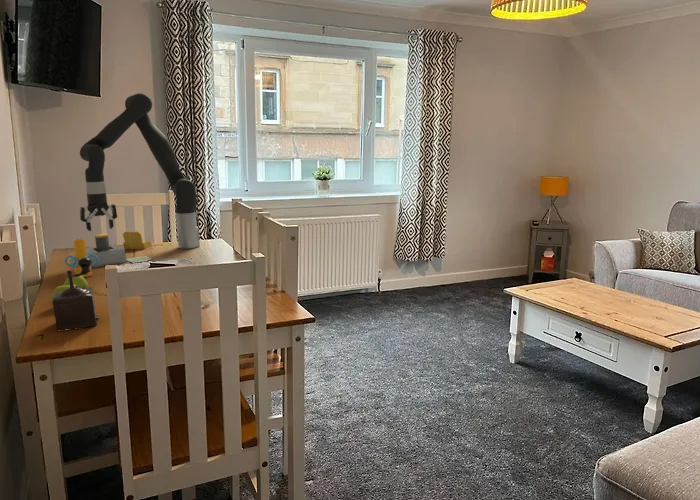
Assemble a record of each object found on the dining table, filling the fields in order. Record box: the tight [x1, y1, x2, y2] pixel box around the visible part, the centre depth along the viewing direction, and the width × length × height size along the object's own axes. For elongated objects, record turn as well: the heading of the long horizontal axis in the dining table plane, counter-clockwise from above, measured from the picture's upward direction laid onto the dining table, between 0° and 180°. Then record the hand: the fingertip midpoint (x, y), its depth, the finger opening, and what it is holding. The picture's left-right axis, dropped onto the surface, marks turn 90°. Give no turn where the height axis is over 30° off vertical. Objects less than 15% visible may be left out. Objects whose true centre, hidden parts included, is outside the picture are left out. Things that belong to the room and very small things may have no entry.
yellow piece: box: [122, 231, 152, 250], centre depth 256 cm, size 10×10×9 cm
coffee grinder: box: [52, 258, 100, 331], centre depth 156 cm, size 16×11×18 cm
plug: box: [94, 233, 110, 251], centre depth 228 cm, size 5×5×12 cm
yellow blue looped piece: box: [64, 237, 98, 279], centre depth 206 cm, size 12×10×15 cm
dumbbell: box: [50, 276, 89, 302], centre depth 177 cm, size 16×8×7 cm, turn 12°
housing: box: [86, 243, 127, 269], centre depth 229 cm, size 14×14×6 cm
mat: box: [126, 255, 152, 263], centre depth 232 cm, size 9×9×1 cm
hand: (100, 229), depth 227 cm, fingers open, 8 cm apart
